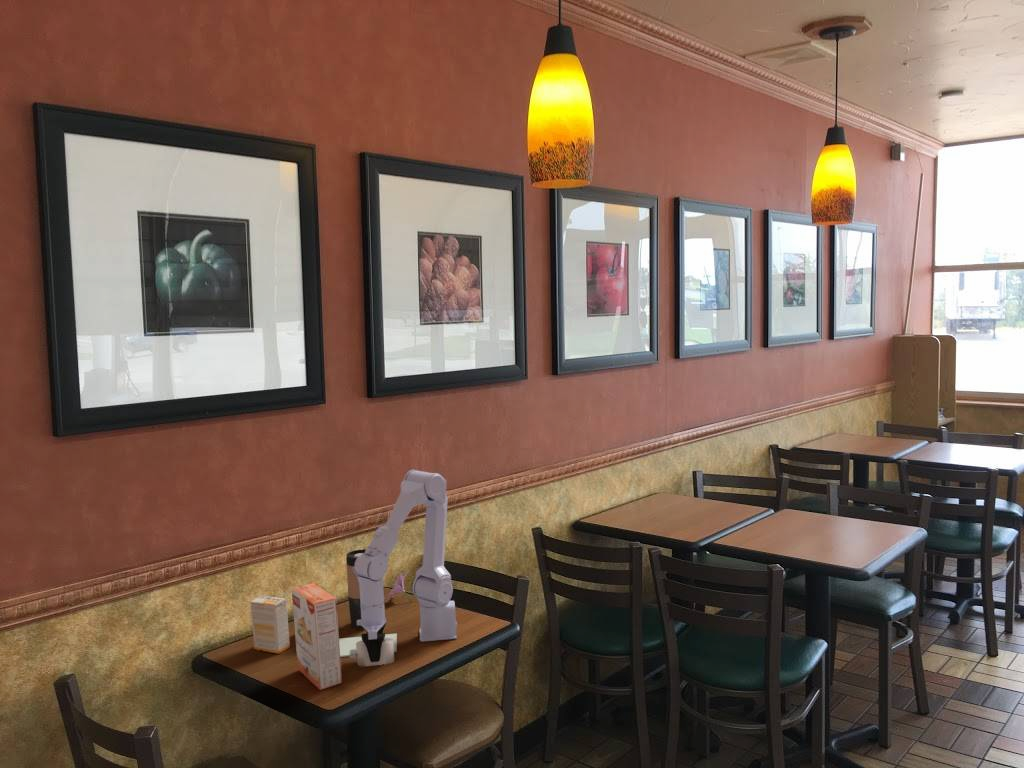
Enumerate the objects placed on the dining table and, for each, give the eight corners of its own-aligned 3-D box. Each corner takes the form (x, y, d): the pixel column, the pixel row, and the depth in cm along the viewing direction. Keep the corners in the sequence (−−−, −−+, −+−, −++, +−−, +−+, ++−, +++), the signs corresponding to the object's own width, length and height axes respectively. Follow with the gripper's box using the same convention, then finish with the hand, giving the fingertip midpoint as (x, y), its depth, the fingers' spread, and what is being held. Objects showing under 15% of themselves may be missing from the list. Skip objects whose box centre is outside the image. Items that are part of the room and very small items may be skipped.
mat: (396, 634, 220) (396, 633, 219) (396, 652, 209) (396, 650, 209) (335, 640, 218) (335, 638, 217) (331, 658, 207) (331, 656, 207)
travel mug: (384, 621, 229) (379, 551, 227) (365, 631, 223) (360, 559, 220) (363, 617, 233) (359, 547, 231) (344, 626, 227) (339, 555, 225)
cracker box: (296, 671, 200) (290, 587, 198) (319, 663, 204) (314, 581, 202) (318, 692, 189) (312, 603, 187) (343, 684, 192) (337, 597, 190)
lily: (411, 595, 252) (394, 568, 252) (432, 588, 244) (415, 561, 244) (384, 618, 244) (366, 591, 243) (405, 612, 236) (387, 584, 235)
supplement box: (291, 647, 215) (287, 598, 213) (278, 654, 210) (274, 604, 209) (266, 642, 218) (262, 594, 217) (253, 649, 214) (249, 600, 212)
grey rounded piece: (394, 656, 206) (393, 637, 206) (394, 663, 202) (393, 643, 202) (351, 660, 205) (350, 641, 204) (350, 667, 201) (348, 647, 200)
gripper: (357, 593, 209) (360, 645, 210) (353, 615, 194) (357, 670, 196) (385, 591, 210) (388, 643, 211) (384, 612, 195) (387, 667, 197)
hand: (375, 656), depth 203 cm, fingers open, 5 cm apart
